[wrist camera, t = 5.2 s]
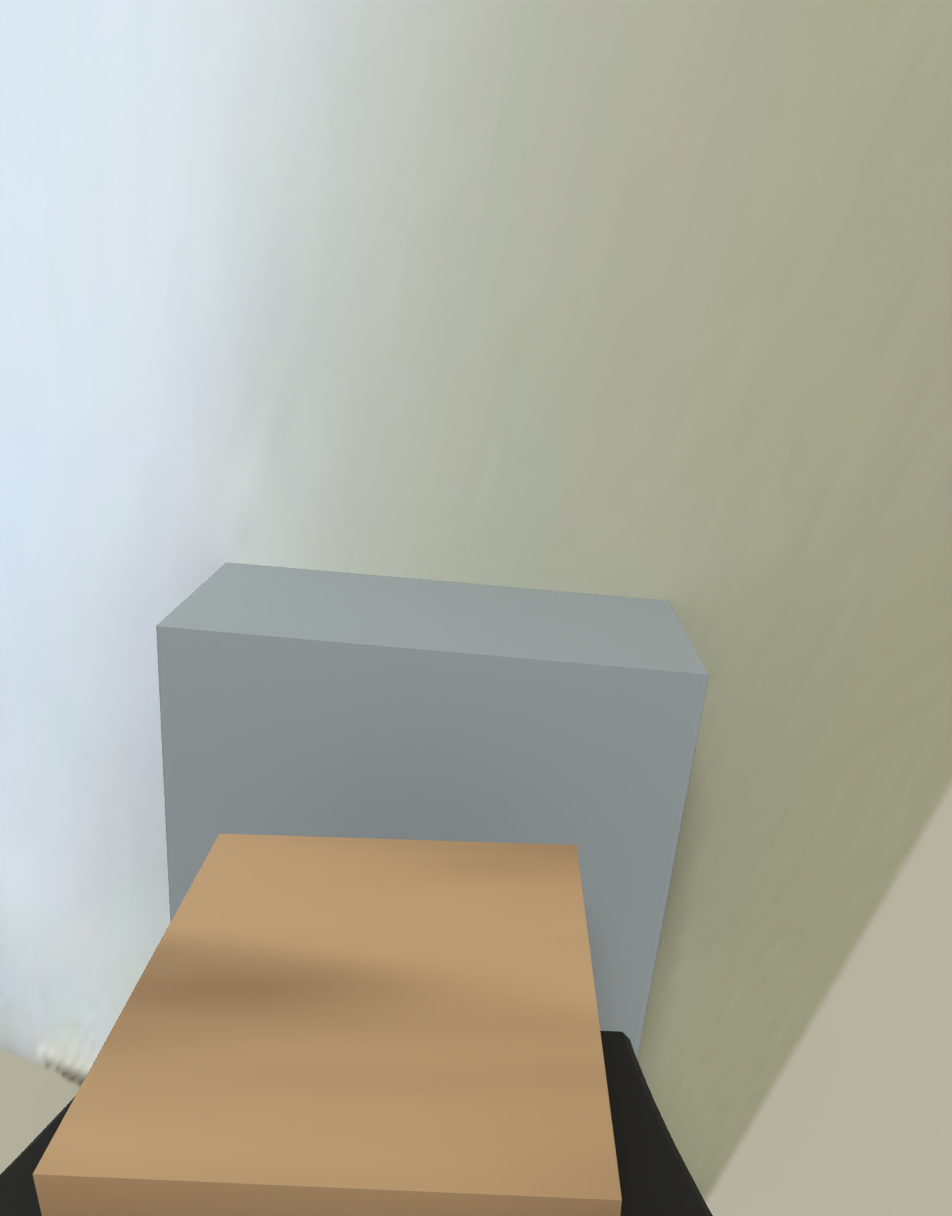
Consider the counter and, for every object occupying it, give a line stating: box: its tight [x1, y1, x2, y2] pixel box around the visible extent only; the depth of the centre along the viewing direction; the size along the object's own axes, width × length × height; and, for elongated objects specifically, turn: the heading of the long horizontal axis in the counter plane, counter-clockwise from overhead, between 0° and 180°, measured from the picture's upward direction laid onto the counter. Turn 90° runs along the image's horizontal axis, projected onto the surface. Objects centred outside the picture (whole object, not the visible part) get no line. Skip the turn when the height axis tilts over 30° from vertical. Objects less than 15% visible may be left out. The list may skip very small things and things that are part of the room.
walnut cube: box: [33, 834, 622, 1216], centre depth 10 cm, size 5×5×5 cm
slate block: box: [156, 563, 709, 1058], centre depth 17 cm, size 9×9×4 cm
